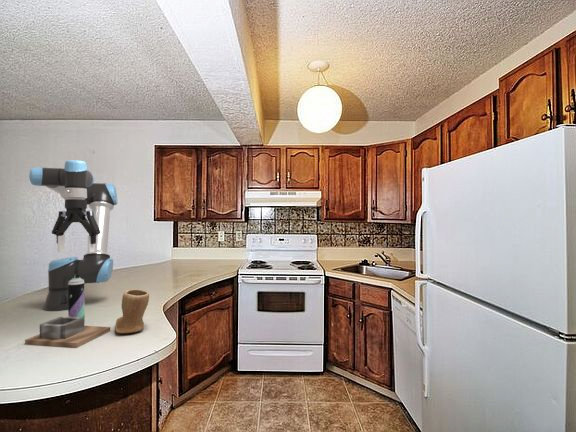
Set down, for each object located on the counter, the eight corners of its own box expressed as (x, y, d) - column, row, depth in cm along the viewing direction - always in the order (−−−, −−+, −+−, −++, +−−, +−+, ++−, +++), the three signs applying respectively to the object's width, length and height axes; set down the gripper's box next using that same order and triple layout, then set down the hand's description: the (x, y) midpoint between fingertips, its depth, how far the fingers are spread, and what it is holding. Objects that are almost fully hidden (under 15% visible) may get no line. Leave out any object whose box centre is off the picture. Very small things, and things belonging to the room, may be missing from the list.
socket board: (24, 344, 113) (24, 326, 113) (64, 328, 128) (64, 312, 128) (76, 347, 109) (76, 329, 109) (110, 331, 125) (110, 315, 125)
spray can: (67, 327, 129) (67, 276, 129) (69, 323, 134) (69, 274, 134) (83, 325, 132) (83, 275, 132) (85, 321, 137) (84, 273, 137)
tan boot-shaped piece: (149, 332, 123) (149, 292, 123) (113, 337, 118) (113, 295, 118) (148, 321, 137) (148, 284, 137) (116, 325, 132) (116, 287, 132)
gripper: (40, 199, 131) (40, 252, 131) (96, 198, 127) (97, 253, 127) (56, 200, 139) (57, 250, 139) (110, 199, 135) (110, 251, 135)
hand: (76, 252), depth 133 cm, fingers open, 13 cm apart
